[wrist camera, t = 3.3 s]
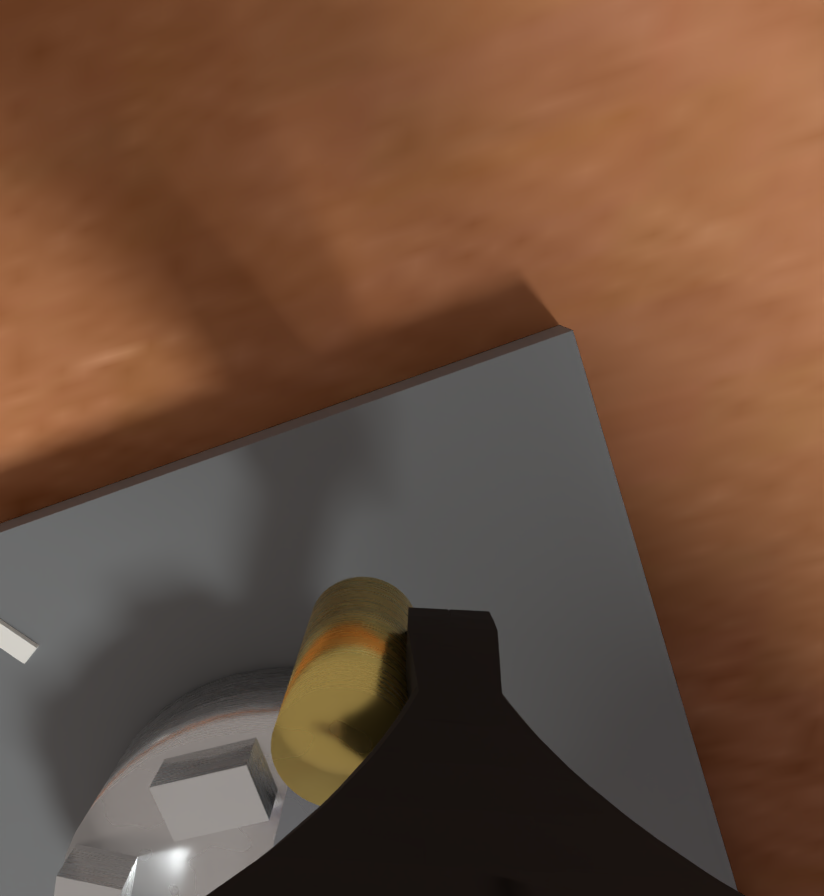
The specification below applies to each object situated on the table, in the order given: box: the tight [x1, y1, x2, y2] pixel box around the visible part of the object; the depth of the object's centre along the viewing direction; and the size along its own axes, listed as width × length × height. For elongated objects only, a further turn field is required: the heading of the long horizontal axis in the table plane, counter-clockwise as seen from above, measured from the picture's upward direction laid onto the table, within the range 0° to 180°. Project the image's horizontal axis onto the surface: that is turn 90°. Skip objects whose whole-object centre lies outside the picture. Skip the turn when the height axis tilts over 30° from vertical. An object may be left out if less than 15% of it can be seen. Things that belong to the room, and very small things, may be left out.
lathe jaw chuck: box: [54, 577, 412, 896], centre depth 12 cm, size 12×9×5 cm
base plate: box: [0, 325, 738, 896], centre depth 16 cm, size 18×18×1 cm
